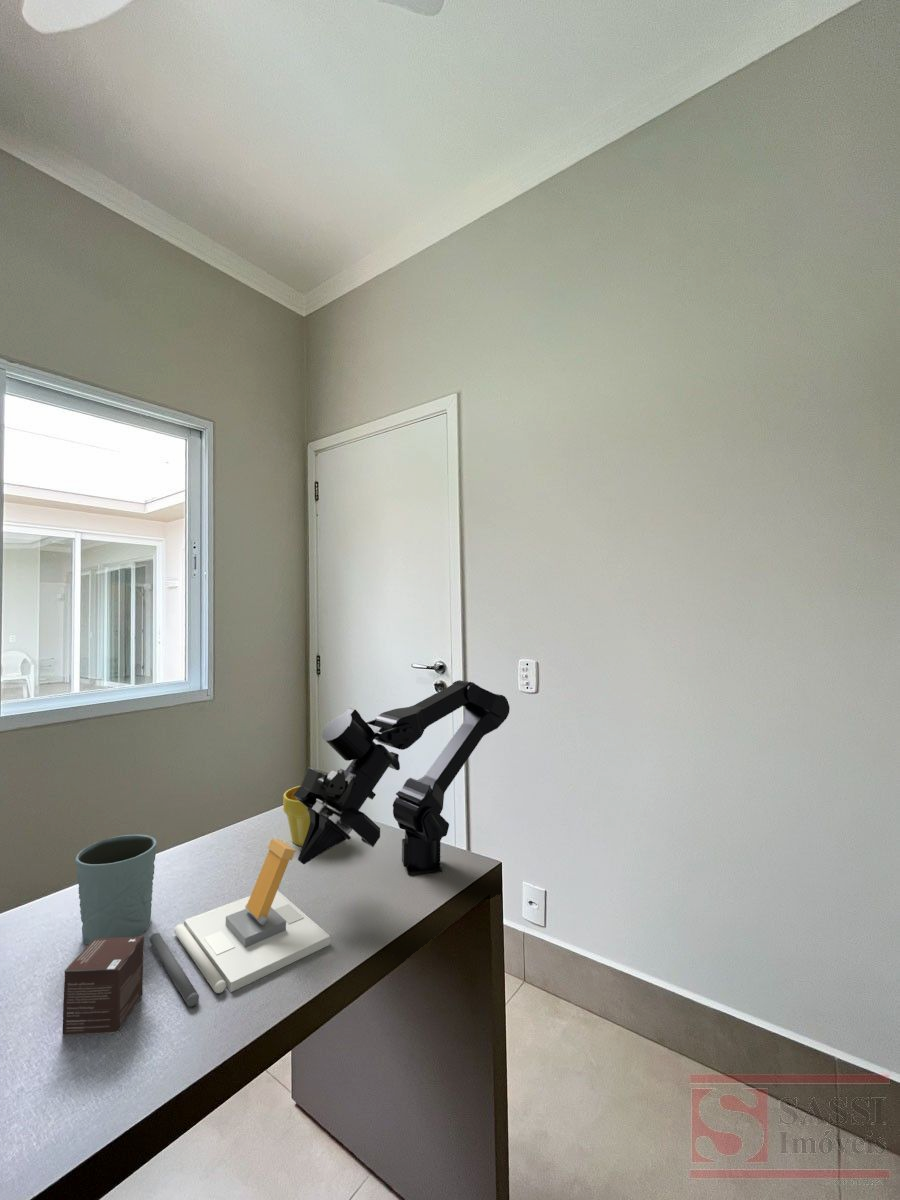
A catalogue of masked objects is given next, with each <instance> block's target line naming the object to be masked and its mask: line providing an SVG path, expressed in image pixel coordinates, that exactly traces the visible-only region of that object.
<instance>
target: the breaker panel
mask: <svg viewBox="0 0 900 1200" xmlns="http://www.w3.org/2000/svg"><path fill="white" fill-rule="evenodd" d="M250 896H251V895H248V896H246V897H244V898H240V899H237V900H234V901H232V902H229V903H227V904H223V905H221V906H218V907H216V908H213V909H211V910H208V911H205V912H202V913H200V914H197V915H194V916H191V917H188V918H186V919H184V920H183V921H184V924H183V925H184V926H185V927H186V929H187V930H188V931H189V933H190V934H191V936H192V937H193V938H194V940H195V941H196V942H197V944H198V945H199V947H200V948H201V949H202V951H203V952H204V953H205V955H206V956H207V957H208V959H209V960H210V962H211V963H212V964H213V966H214V967H215V968H216V970H217V971H218V972H219V974H220V975H221V977H222V978H223V979H224V981H225V982H226V988H227V989H228V990H229V992H230V993H232V992H233V993H234V991H237V990H239V989H241V988H242V987H245V986H247V985H249V984H251V983H254V982H255V981H258V980H260V979H261V978H263V977H266V976H267V975H270V974H272V973H274V972H275V971H278V970H280V969H283V968H284V967H287V966H288V965H290V964H293V963H295V962H296V961H298V960H301V959H303V958H305V957H308V956H309V955H312V954H313V953H316V952H317V951H320V950H322V949H324V948H326V947H328V946H330V945H331V936H330V935H329V933H327V932H326V931H325V930H324V929H323V928H322V927H320V926H319V925H318V924H317V923H316V922H315V921H313V919H311V918H310V917H309V916H308V915H306V914H305V913H304V912H303V911H302V910H301V909H300V908H299V907H297V906H296V905H295V904H294V903H293V902H291V901H290V900H289V899H288V898H287V897H286V896H285V895H284V894H282V893H281V892H280V891H279V889H278V890H277V893H276V895H275V898H274V900H273V903H272V905H271V908H270V911H269V913H268V916H267V921H266V923H265V924H264V925H261V924H260V923H259V922H258V921H257V920H256V919H255V918H254V917H253V916H252V915H251V914H250V913H249V912H248V911H247V910H246V908H245V906H246V904H247V903H248V901H249V899H250Z"/></svg>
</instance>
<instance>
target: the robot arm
mask: <svg viewBox="0 0 900 1200" xmlns="http://www.w3.org/2000/svg"><path fill="white" fill-rule="evenodd" d="M462 707H464V717H463V718H464V719H463V722H462V724H461V725H460V726H459V728H458V729H457V731H456V732H454V735H453V736H452V737H451V739H450V740H449V741H448V743H447V744H446V746H445V747H444V748H443V749H442V751H441V753H440V754H439V755H438V756H437V757H436V759H435V760H434V762H433V763H432V765H430V768H429V769H428V770H427V771H426V773H425V774H424V775H423V777H421V778H419V779H415V778H413V777H409V778H408V779H406V781H405V782H404V784H403V785H402V787H401V789H400V790H399V791H397V792H396V793H395V795H396V797H395V799H394V801H393V803H392V808H393V809H392V815H393V818H394V820H395V821H396V822H397V825H398V827H399V829H401V830H404V838H402V840H401V862H402V865H403V867H404V868H405V871H406V873H407V874H408V875H418V874H419V875H420V874H427V873H437V872H442V871H443V866H442V863H441V841H442V839H443V838H444V837H447V835H448V831H449V828H450V822H448V821H447V820H446V819H445V818H444V817H443V816H442V815H441V813H442V811H443V810H444V800H445V793H446V791H447V790H448V788H449V787H450V785H451V783H452V782H453V781H454V779H455V778H456V776H457V775H458V774H459V772H460V771H461V769H462V767H463V766H464V765H465V764H466V762H467V761H468V758H469V757H470V756H471V755H472V754H473V752H474V751H475V749H477V746H478V745H479V743H480V742H481V740H482V739H483V737H485V735H488V734H489V733H492V732H493V731H495V730H497V729H498V728H499V727H500V726H501V725H502V724H503V723H504V722H505V721H506V719H507V718H508V717H509V714H510V710H511V709H510V704H509V702H508V699H507V697H506V696H505V695H502V694H499V693H493V692H492V691H489V690H487V689H485V688H483V687H481V686H479V685H478V684H476V683H474V682H473V681H466V680H455V681H453V682H452V684H451V685H449V686H447V687H445V688H443V689H441V690H440V691H438V692H436V693H434V694H432V695H430V696H428V697H426V698H424V699H423V700H421V701H419V702H417V703H416V704H414V705H411V706H407V707H399V708H394V709H390V710H387V711H384V712H381V713H380V714H378V715H377V716H376V718H375V719H373V720H369V721H367V722H366V721H365V720H364V718H363V717H362V716H361V714H360V712H358V710H357V709H354V708H351V707H350V708H347V709H346V710H345V712H343V713H341V714H339V715H336V716H335V717H333V719H332V720H329V721H328V722H327V723H326V725H325V726H324V728H323V730H322V734H321V736H322V739H323V740H324V741H325V742H326V743H327V744H328V745H329V746H330V747H331V748H332V749H333V750H334V751H335V752H336V753H337V754H338V755H339V756H341V758H342V759H344V761H346V762H350V763H349V765H348V766H347V768H346V769H343V768H340V769H338V770H331V771H330V772H326V771H322V770H320V769H316V768H313V767H310V766H309V767H307V769H306V771H305V775H304V777H303V779H302V782H301V785H299V786H300V787H299V788H298V790H297V791H296V792H295V794H294V795H293V796H294V797H295V798H296V799H298V800H299V801H300V802H301V803H302V804H303V805H305V806H306V807H307V811H308V812H309V816H310V825H309V829H308V832H307V835H306V838H305V841H304V843H303V846H301V849H300V852H299V855H298V857H297V861H298V862H300V863H301V864H302V865H306V864H307V863H309V862H311V861H312V860H314V859H316V857H318V856H320V855H321V854H323V853H325V852H326V851H328V850H330V849H331V848H334V847H335V846H337V845H339V844H340V843H343V842H345V841H350V840H352V837H351V836H350V834H351V832H352V831H354V832H355V833H356V834H357V836H359V837H360V838H361V842H363V843H365V844H366V845H367V846H370V847H372V848H375V845H376V844H377V842H378V841H379V839H380V838H381V827H380V826H379V825H377V824H376V823H375V822H374V821H373V820H372V819H371V817H369V816H368V815H367V814H366V813H365V812H362V811H361V807H363V805H364V804H365V802H366V801H367V799H370V800H374V798H375V797H376V795H377V794H376V793H375V791H374V790H375V787H376V786H377V784H378V783H379V782H380V780H381V779H382V777H383V776H384V774H385V773H386V772H387V770H388V769H389V768H390V769H392V770H395V771H400V769H401V766H400V764H401V763H400V761H399V758H400V756H399V753H397V752H393V751H389V750H388V749H387V747H386V746H388V747H391V748H394V749H397V750H401V751H403V750H407V749H409V748H410V747H411V746H413V745H414V744H415V743H416V742H417V741H419V740H420V739H421V737H422V736H423V734H424V732H425V730H426V729H427V728H428V727H430V726H431V725H432V724H434V723H436V722H438V721H439V720H442V718H445V717H446V716H448V715H450V714H452V713H453V712H455V711H457V710H458V709H460V708H462ZM374 740H375V741H376V742H378V743H377V744H376V743H375V741H374ZM379 743H380V744H379Z"/></svg>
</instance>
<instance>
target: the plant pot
mask: <svg viewBox="0 0 900 1200" xmlns="http://www.w3.org/2000/svg"><path fill="white" fill-rule="evenodd" d="M300 786H301V785H298V786H295V787H292V788H290V789H287V790H286V791H285V792H284V793H283V798H282V800H283V802H282V803H283V804H282V805H283V807H282V809H283V812H284V814H285V815H286V816H287V822H288V827H289V831H290V837H291V840H292V841H291V842H292V843H293V844H295V845H297V846H301V847H302V846H303V843H304V841H305V838H306V835H307V832H308V829H309V825H310V816H309V812H308V811H307V807H306V806H305V805H303V804H302V803H301V802H300V801H299V800H298V799H296V798H295V797H294V796H293V795H294V794H295V792H296V791H297V790H298V788H299V787H300Z"/></svg>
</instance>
